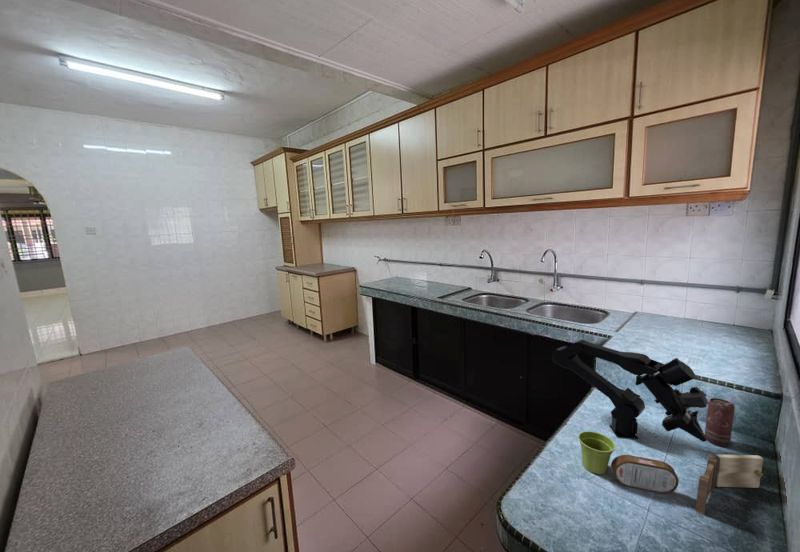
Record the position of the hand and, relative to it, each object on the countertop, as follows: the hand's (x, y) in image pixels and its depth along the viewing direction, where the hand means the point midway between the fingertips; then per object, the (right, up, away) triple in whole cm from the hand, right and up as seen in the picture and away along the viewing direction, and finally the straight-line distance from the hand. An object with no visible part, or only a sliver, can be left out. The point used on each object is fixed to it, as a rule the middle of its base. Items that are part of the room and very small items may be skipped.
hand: (705, 440), depth 96 cm
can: (+15, -6, +11) cm, 20 cm away
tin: (-24, -10, -7) cm, 27 cm away
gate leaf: (0, -9, -8) cm, 12 cm away
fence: (-11, -10, -11) cm, 19 cm away
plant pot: (-32, -9, +1) cm, 33 cm away
